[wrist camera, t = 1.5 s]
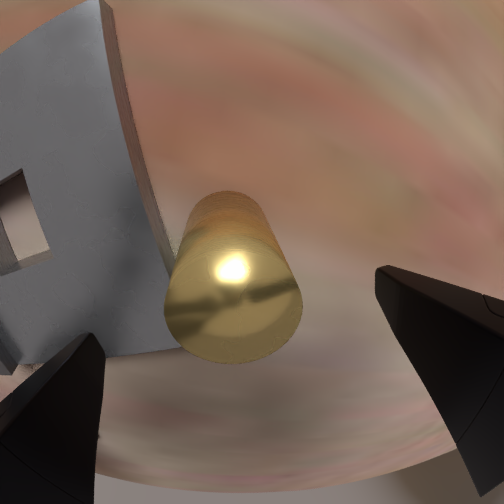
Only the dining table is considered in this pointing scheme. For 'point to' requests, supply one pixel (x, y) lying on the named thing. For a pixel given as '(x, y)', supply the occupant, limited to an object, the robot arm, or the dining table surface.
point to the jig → (79, 198)
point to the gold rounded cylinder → (231, 284)
